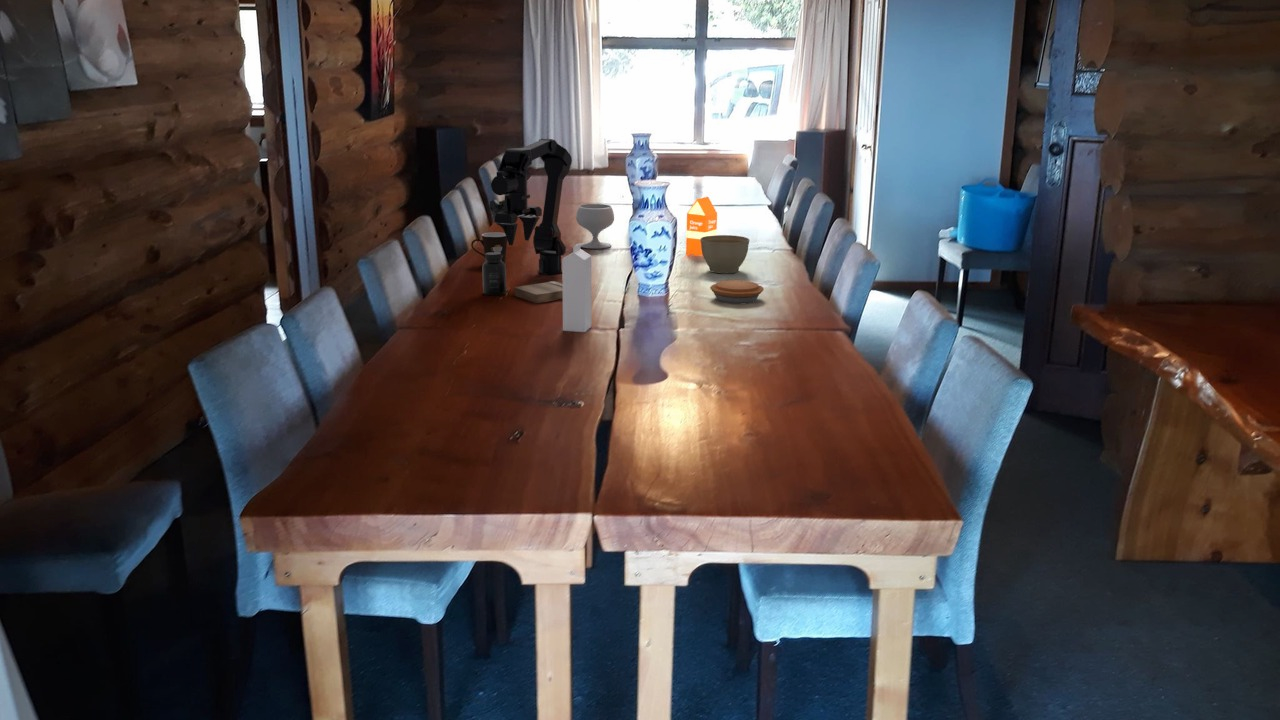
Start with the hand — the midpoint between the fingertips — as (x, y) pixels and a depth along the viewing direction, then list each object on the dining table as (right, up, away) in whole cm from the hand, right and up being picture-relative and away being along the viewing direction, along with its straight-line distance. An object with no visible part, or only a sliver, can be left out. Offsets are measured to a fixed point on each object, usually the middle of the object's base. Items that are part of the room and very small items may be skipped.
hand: (518, 242), depth 312 cm
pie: (+65, -18, -13) cm, 69 cm away
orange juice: (+59, +2, +56) cm, 82 cm away
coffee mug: (-13, -3, +34) cm, 36 cm away
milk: (+21, -28, -47) cm, 58 cm away
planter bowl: (+65, -7, +26) cm, 70 cm away
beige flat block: (+9, -17, -12) cm, 23 cm away
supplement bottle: (-6, -16, -9) cm, 19 cm away
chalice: (+20, +6, +67) cm, 70 cm away
